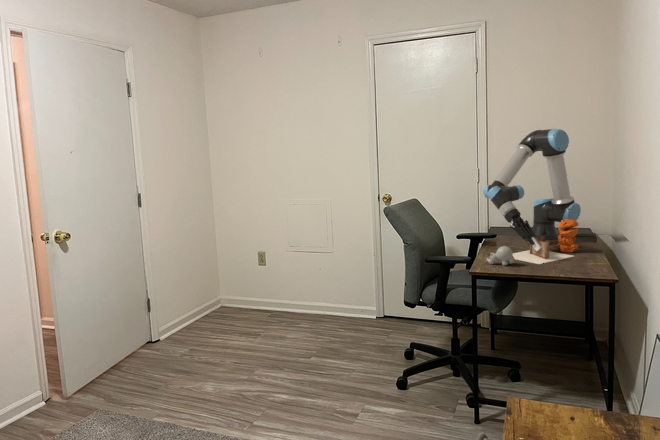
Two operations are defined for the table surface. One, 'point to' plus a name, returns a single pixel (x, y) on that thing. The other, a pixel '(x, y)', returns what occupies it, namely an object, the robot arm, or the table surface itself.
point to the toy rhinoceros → (502, 256)
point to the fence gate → (542, 249)
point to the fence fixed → (539, 240)
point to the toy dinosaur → (567, 235)
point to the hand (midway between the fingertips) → (539, 249)
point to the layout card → (539, 257)
